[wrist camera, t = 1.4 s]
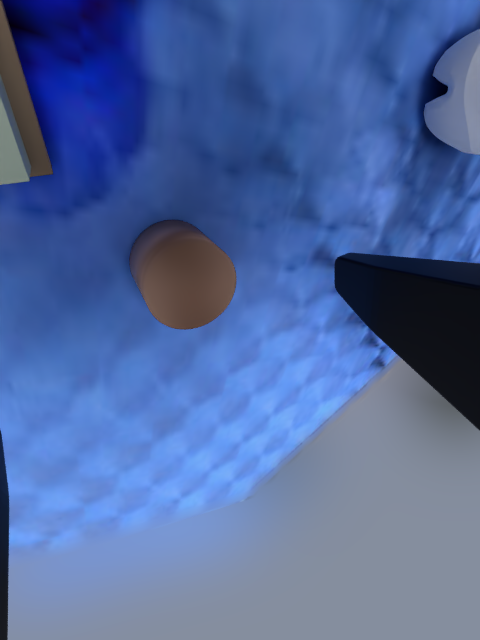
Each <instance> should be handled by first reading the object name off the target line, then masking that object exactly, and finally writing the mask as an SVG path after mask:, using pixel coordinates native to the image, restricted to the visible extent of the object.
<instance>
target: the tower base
mask: <svg viewBox="0 0 480 640" xmlns="http://www.w3.org/2000/svg"><path fill="white" fill-rule="evenodd" d="M0 75H1V78H2V81H3V84H4V87H5V90H6V93H7V96H8V99H9V102H10V105H11V108H12V111H13V114H14V117H15V120H16V123H17V126H18V129H19V132H20V135H21V138H22V141H23V144H24V147H25V150H26V153H27V156H28V159H29V162H30V165H31V173H30V177H33V176H42V175H50V174H53V170H52V165H51V162H50V158H49V155H48V152H47V148H46V145H45V142H44V138H43V135H42V132H41V129H40V125H39V122H38V119H37V115H36V112H35V109H34V105H33V102H32V99H31V95H30V92H29V89H28V85H27V82H26V79H25V75H24V72H23V69H22V66H21V62H20V59H19V56H18V52H17V49H16V46H15V42H14V39H13V36H12V32H11V29H10V26H9V22H8V19H7V16H6V12H5V9H4V6H3V3H2V0H0Z"/></svg>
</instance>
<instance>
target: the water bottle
mask: <svg viewBox="0 0 480 640" xmlns="http://www.w3.org/2000/svg"><path fill="white" fill-rule="evenodd" d="M432 76H434V77H435V78H436V79H437V80H438V81H440V82H441V83H443V84H445V85H447V86H448V91H447V93H446V94H445V95H442V96H440V97H437V98H435V99H434V100H432V101H430V102H428V103H426V104H425V108H424V118H425V122H426V125H427V127H428V128H429V130H430V131H431V132H432V133H433V134H434V135H435V136H436V137H437V138H438V139H440V140H441V141H443V142H444V143H446V144H448V145H450V146H452V147H453V148H456V149H458V150H459V151H461V152H464V153H469V154H476V155H480V29H478V30H476V31H474V32H472V33H470V34H468V35H467V36H465V37H463V38H462V39H460V40H459V41H457V42H456V43H455V44H453V45H452V46H451V47H450V48H449V49H448V50H446V51H445V53H444V54H443V55H442V57H441V58H440V59H439V61H438V62H437V64H436V66H435V69H434V73H433V75H432Z"/></svg>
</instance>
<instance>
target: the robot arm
mask: <svg viewBox="0 0 480 640" xmlns="http://www.w3.org/2000/svg"><path fill="white" fill-rule="evenodd" d="M335 288H336V290H337V292H338V293H339V294H340V296H341V297H342V298H343V299H344V300H345V301H346V302H347V304H348V305H349V306H350V307H351V308H352V309H353V310H354V312H355V313H356V314H357V315H358V316H359V317H360V318H361V320H362V321H363V322H364V323H365V324H366V325H367V326H368V327H369V328H370V329H371V330H372V331H373V332H374V333H375V334H376V335H377V336H378V337H379V338H380V339H381V340H382V341H383V342H384V343H385V344H387V345H388V346H389V347H390V348H391V349H392V350H393V351H394V352H395V353H396V354H397V355H398V356H400V357H401V358H402V359H403V360H404V361H405V362H406V363H407V364H408V365H409V366H410V367H411V368H412V369H414V370H415V371H416V372H417V373H418V374H419V375H420V376H421V377H422V378H423V379H424V380H425V381H427V382H428V383H429V384H430V385H431V386H432V387H433V388H434V389H435V390H436V391H438V392H439V393H440V394H441V395H442V396H443V397H444V398H445V399H446V400H447V401H448V402H449V403H450V404H451V405H453V406H454V407H455V408H456V409H457V410H458V411H459V412H460V413H461V414H462V415H463V416H464V417H466V418H467V419H468V420H469V421H470V422H471V423H472V424H473V425H474V426H475V427H476V428H477V429H479V430H480V264H479V263H467V262H455V261H444V260H432V259H420V258H408V257H396V256H384V255H372V254H360V253H347V254H345V255H342V256H340V257H338V258H337V259H336V260H335ZM8 562H9V492H8V482H7V474H6V466H5V458H4V450H3V442H2V434H1V430H0V640H7V632H8Z"/></svg>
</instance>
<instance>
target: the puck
mask: <svg viewBox="0 0 480 640" xmlns="http://www.w3.org/2000/svg"><path fill="white" fill-rule="evenodd" d="M129 265H130V270H131V274H132V276H133V278H134V280H135V282H136V284H137V286H138V288H139V290H140V292H141V294H142V296H143V298H144V300H145V302H146V304H147V306H148V308H149V310H150V312H151V313H152V315H153V316H154V317H155V318H156V319H157V320H158V321H159V322H161V323H162V324H164V325H166V326H169V327H171V328H175V329H193V328H198V327H201V326H203V325H205V324H208V323H209V322H211V321H213V320H214V319H215V318H217V317H218V316H219V315H220V314H221V313H222V312H223V311H224V310H225V309H226V308H227V306H228V305H229V303H230V301H231V299H232V297H233V295H234V292H235V287H236V272H235V268H234V265H233V263H232V261H231V259H230V258H229V257H228V255H227V254H226V253H225V252H224V251H222V250H221V249H220V248H219V247H218V246H217V245H216V244H214V243H213V242H212V241H211V240H210V239H209V238H208V237H206V236H205V235H204V234H203V233H202V232H201V231H200V230H198V229H197V228H196V227H195V226H193V225H192V224H189V223H187V222H184V221H180V220H165V221H161V222H158V223H155V224H153V225H151V226H149V227H148V228H147V229H145V230H144V231H143V232H142V233H141V234H140V235H139V236H138V238H137V239H136V241H135V242H134V244H133V247H132V249H131V253H130V259H129Z"/></svg>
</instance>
